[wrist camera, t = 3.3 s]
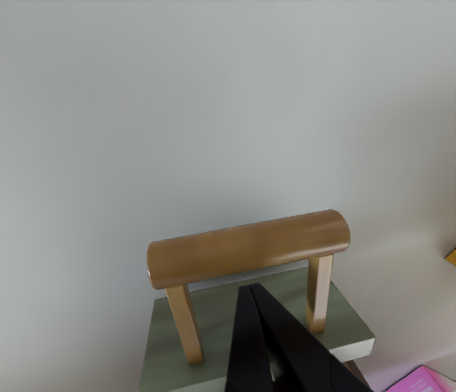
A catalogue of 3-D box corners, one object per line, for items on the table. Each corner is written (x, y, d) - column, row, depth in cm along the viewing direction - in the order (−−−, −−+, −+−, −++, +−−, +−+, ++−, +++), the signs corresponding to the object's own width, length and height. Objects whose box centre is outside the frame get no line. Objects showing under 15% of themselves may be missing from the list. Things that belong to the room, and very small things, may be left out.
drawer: (121, 206, 9) (72, 282, 5) (326, 172, 10) (410, 216, 6) (192, 407, 16) (193, 501, 12) (308, 375, 17) (343, 454, 13)
